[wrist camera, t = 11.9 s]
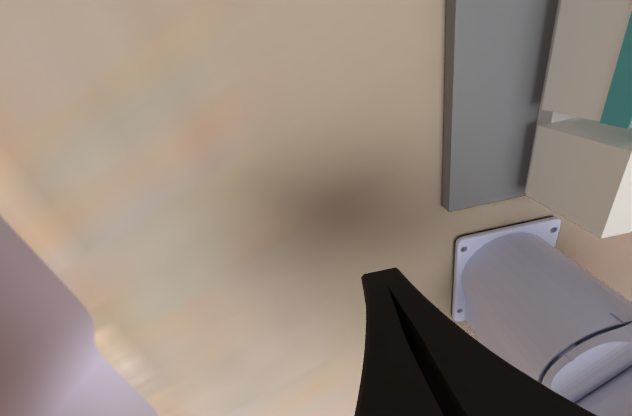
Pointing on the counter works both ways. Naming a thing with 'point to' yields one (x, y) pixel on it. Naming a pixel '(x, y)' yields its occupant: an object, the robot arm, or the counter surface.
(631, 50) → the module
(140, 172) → the counter surface
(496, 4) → the mounting plate
